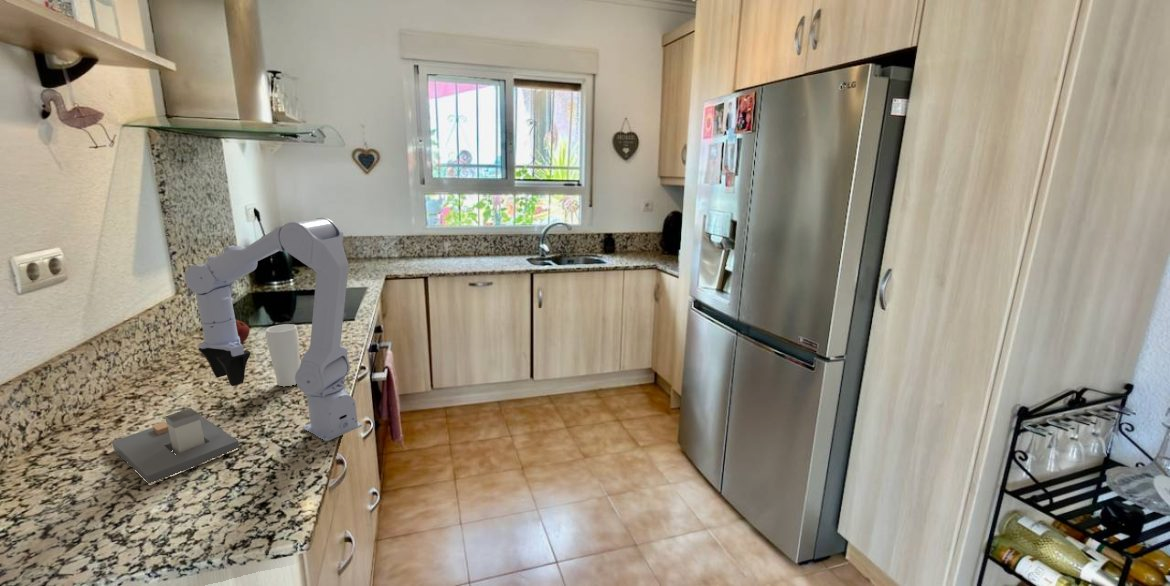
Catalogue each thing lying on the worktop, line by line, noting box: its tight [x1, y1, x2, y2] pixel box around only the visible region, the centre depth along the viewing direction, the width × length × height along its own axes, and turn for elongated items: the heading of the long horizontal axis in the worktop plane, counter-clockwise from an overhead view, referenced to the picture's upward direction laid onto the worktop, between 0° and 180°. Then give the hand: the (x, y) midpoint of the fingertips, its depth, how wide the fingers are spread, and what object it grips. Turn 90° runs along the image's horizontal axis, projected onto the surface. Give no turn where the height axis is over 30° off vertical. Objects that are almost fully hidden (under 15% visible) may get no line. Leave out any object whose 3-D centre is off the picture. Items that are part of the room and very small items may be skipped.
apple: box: [235, 319, 250, 345], centre depth 154 cm, size 7×8×8 cm
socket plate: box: [111, 414, 240, 483], centre depth 97 cm, size 20×14×3 cm
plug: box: [164, 407, 205, 454], centre depth 96 cm, size 4×4×8 cm
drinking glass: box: [265, 323, 301, 388], centre depth 125 cm, size 7×7×15 cm
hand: (229, 380), depth 107 cm, fingers open, 7 cm apart
